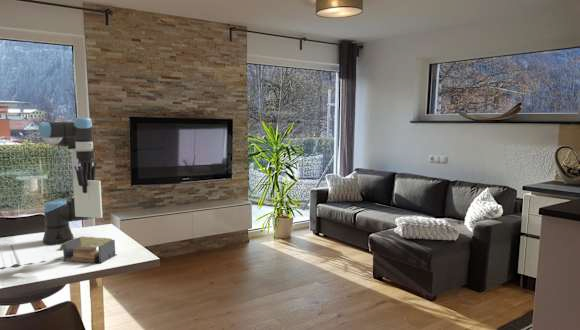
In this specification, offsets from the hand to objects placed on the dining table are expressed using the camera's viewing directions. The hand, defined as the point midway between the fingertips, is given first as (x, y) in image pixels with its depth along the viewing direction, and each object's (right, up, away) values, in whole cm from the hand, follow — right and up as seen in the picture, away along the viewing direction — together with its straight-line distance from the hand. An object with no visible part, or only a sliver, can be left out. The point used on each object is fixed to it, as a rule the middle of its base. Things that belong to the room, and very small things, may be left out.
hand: (87, 198), depth 205 cm
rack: (+1, -30, +1) cm, 30 cm away
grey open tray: (-13, -28, +24) cm, 39 cm away
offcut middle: (+1, -27, -3) cm, 27 cm away
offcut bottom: (0, -29, -2) cm, 29 cm away
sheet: (0, -9, +1) cm, 9 cm away
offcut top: (0, -25, -3) cm, 25 cm away
